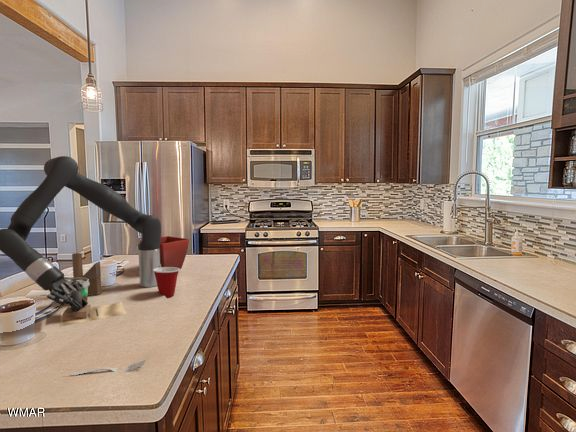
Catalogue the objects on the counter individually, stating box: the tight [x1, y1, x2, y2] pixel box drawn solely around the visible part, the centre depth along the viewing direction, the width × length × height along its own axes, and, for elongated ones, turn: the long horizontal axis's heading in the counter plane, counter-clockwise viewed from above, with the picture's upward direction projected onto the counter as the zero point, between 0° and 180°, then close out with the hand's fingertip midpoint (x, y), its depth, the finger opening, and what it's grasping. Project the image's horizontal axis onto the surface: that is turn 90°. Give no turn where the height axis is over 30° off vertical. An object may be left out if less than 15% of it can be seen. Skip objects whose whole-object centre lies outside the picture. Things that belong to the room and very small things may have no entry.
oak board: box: [59, 301, 128, 327], centre depth 123 cm, size 20×14×2 cm
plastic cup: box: [153, 267, 181, 299], centre depth 146 cm, size 11×11×12 cm
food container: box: [64, 277, 90, 302], centre depth 136 cm, size 12×6×10 cm, turn 71°
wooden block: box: [71, 252, 102, 296], centre depth 148 cm, size 4×11×18 cm, turn 92°
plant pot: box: [139, 235, 190, 270], centre depth 190 cm, size 19×19×17 cm
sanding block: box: [63, 291, 91, 321], centre depth 120 cm, size 7×7×8 cm
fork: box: [71, 359, 147, 376], centre depth 87 cm, size 3×24×2 cm, turn 103°
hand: (82, 307), depth 120 cm, fingers closed on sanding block, 3 cm apart
